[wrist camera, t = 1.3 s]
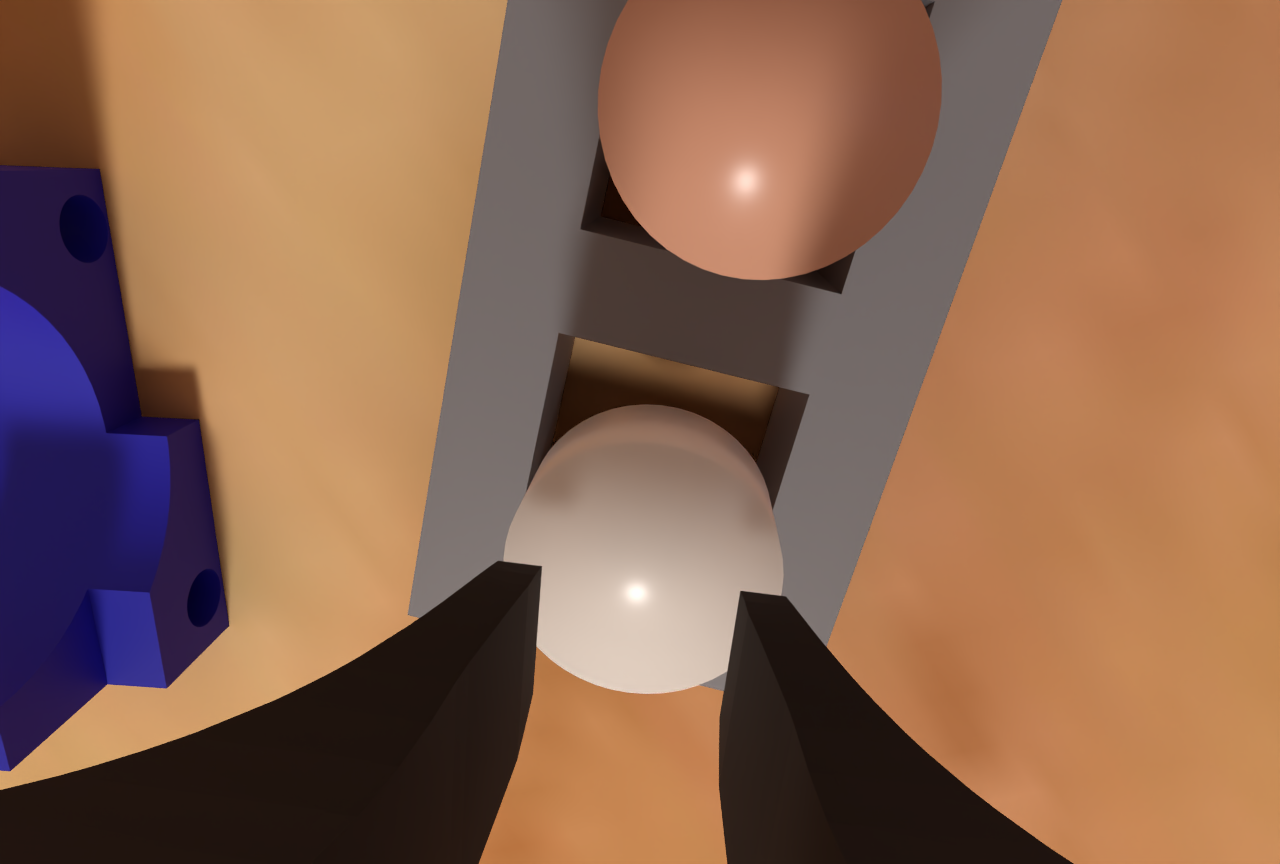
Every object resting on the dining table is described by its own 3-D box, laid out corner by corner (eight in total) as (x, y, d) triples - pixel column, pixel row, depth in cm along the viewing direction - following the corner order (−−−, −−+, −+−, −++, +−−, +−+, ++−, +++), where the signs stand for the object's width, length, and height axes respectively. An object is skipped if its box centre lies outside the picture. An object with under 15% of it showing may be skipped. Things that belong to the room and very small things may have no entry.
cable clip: (232, 622, 23) (78, 776, 17) (77, 611, 23) (-125, 760, 17) (167, 171, 19) (-59, 177, 13) (-19, 164, 19) (-320, 166, 13)
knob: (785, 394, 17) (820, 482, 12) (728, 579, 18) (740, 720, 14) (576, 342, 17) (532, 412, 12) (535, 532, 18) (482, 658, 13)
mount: (1173, -506, 14) (1321, -710, 11) (786, 624, 21) (802, 710, 18) (662, -641, 14) (653, -892, 11) (452, 543, 21) (407, 614, 18)
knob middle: (900, 23, 14) (994, -39, 10) (824, 268, 16) (876, 313, 11) (658, -38, 14) (640, -129, 10) (603, 213, 16) (567, 236, 11)
